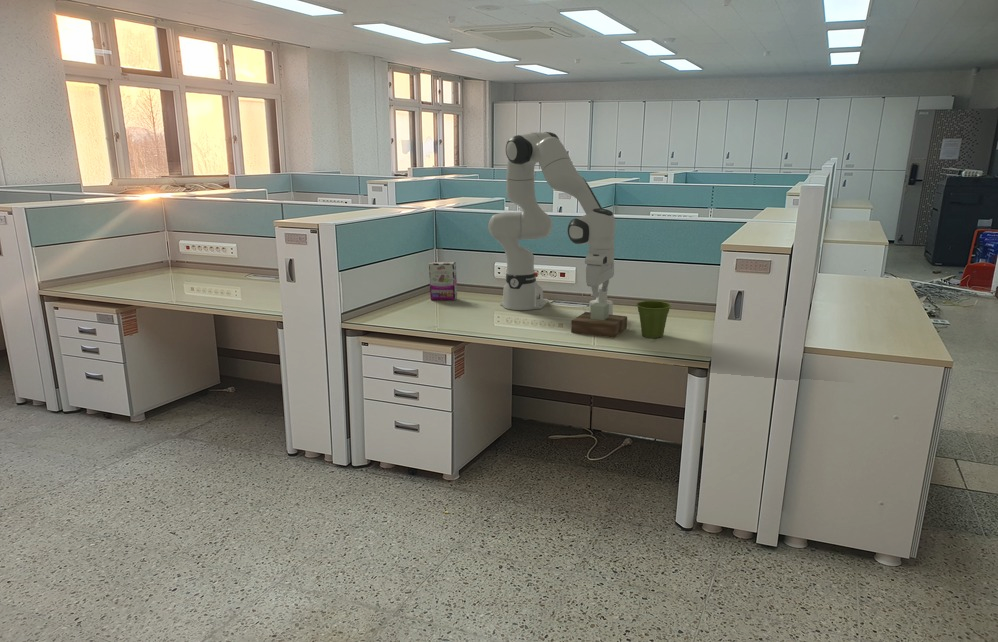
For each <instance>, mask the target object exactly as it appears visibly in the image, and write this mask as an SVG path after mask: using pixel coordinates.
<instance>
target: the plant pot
mask: <svg viewBox="0 0 998 642" xmlns="http://www.w3.org/2000/svg"><path fill="white" fill-rule="evenodd" d="M635 306H636V307H637V310H638V314H639V320H640V322H639V323H640V328H641V335H642V337H645V338H647V339H657V338H662V337H663V336H664V333H665V328H666V323H667V317H668V314H669V312H670V308H671V307H672V303H670V302H667V301H660V300H643V301H638V302H637V303H636V304H635Z"/></svg>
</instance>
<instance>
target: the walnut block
mask: <svg viewBox="0 0 998 642" xmlns="http://www.w3.org/2000/svg"><path fill="white" fill-rule="evenodd" d="M590 316H591V312H589V311H585V312H584V313H581V314H579V315H578V316H576V317H575V318H572V319H571V322H570V323H571V324H570V328H571V329H570V333H572V334H578V335H579V334H580V335H586V336H588V335H589V336H595V337H596V336H597V337H604V338H612V339H615V338H616V337H617V336H619V335H620V334H621V333H624V331H626V330H627V329H628V316H626V315H617V314H613V315H609V317H608V318H607V319H605V320H596V319H590Z"/></svg>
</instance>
